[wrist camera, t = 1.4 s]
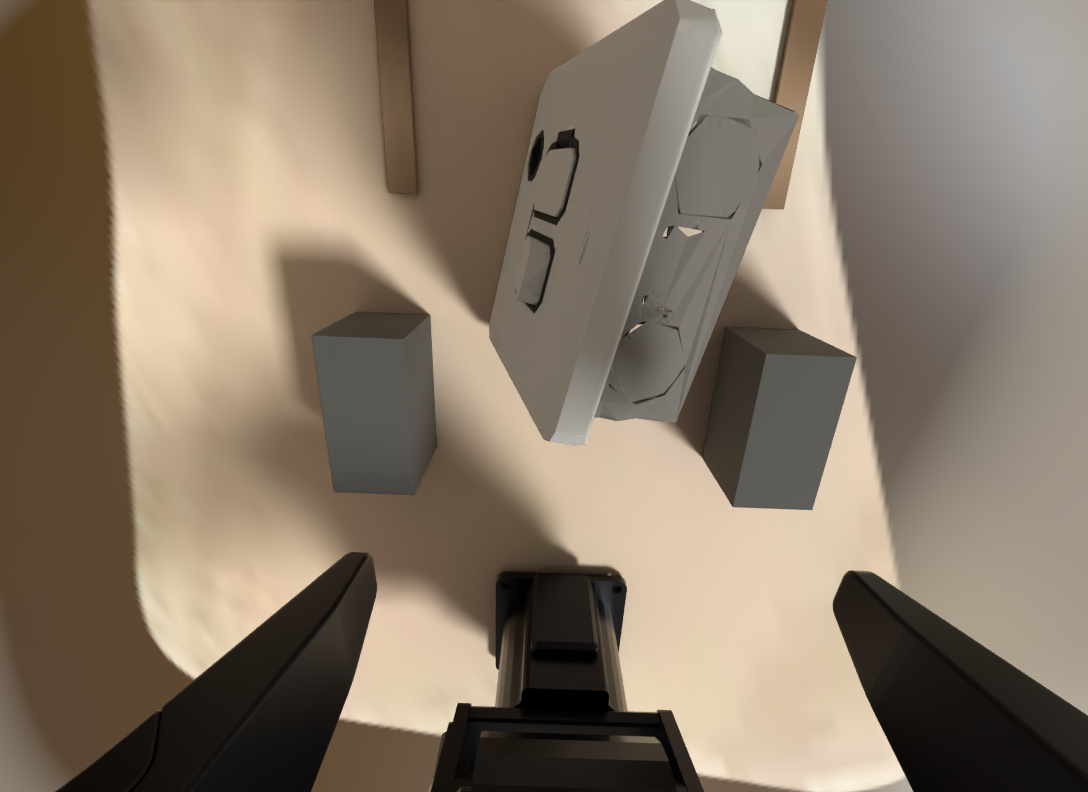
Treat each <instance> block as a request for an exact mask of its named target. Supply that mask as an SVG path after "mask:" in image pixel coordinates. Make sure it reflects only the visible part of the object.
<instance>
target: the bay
mask: <svg viewBox="0 0 1088 792" xmlns="http://www.w3.org/2000/svg"><path fill="white" fill-rule="evenodd" d="M826 5H827V0H793V6H792V11H791V16H790V22H789V27H788V32H787V38H786V43H785V48H784V53H783V59H782V64H781V69H780V75H779V80H778V85H777V91H776V96H775V101H774V103H776V104H779V105H781V106H784V107H786V108H789V109H791V110H793V111H796V112H794V113H796V114H798V115H799V117H798V120H797V122H796V125H795V127H794V130H793V132H792V135H791V137H790V140H789V142H788V145H787V147H786V150H785V152H784V155H783V157H782V160H781V162H780V165H779V167H778V170H777V172H776V175H775V177H774V180H773V182H772V185H771V187H770V190H769V192H768V195H767V197H766V200H765V202H764V205H763V207H762V209H784V205H785V201H786V196H787V191H788V186H789V182H790V177H791V172H792V167H793V163H794V158H795V153H796V148H797V143H798V139H799V134H800V129H801V124H802V120H803V115H804V110H805V105H806V100H807V96H808V91H809V86H810V81H811V77H812V72H813V67H814V62H815V57H816V53H817V48H818V43H819V38H820V34H821V29H822V24H823V19H824V15H825V10H826ZM374 6H375V20H376V33H377V46H378V60H379V73H380V87H381V100H382V113H383V127H384V140H385V154H386V167H387V180H388V193H408V194H417V180H416V162H415V143H414V125H413V106H412V88H411V70H410V51H409V33H408V14H407V0H374Z"/></svg>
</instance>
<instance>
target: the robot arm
mask: <svg viewBox="0 0 1088 792" xmlns="http://www.w3.org/2000/svg"><path fill="white" fill-rule="evenodd" d="M503 582H509V583H508V584H506V583H503ZM614 586H619V587H616V588H614ZM626 592H627V588H626V582H625V580H624V579H623V578H622V577H620V576H608V575H580V574H553V573H525V572H502V573H500V574H499V575H498V576H497V581H496V668H497V669H498V670H499V674H498V684H497V693H496V703H495V707H483V706H471V703H458V704H457V708H456V712H455V716H454V720H453V722H449V725H448V728H447V731H446V732H445V733H443V734H442V738H441V743H440V748H439V753H438V758H437V763H436V768H435V772H434V776H433V779H432V782H431V786H430V788H429V790H428V792H704V791H703V788H702V786H701V783H700V781H699V778H698V776H697V773H696V771H695V768H694V766H693V763H692V761H691V758H690V756H689V753H688V751H687V748H686V746H685V743H684V741H683V738H682V736H681V733H680V731H679V728H678V726H677V723H676V721H675V718H674V716H673V713H672V711H671V710H657V712H629V711H627V705H626V698H625V692H624V686H623V680H622V673H621V667H620V661H619V654H618V652H619V645H620V637H621V630H622V622H623V615H624V607H625V600H626ZM376 593H377V582H376V576H375V569H374V563H373V558H372V556H371V554H369V553H358V552H350V553H348V554H346V555H345V556H343V557H342V558H341V559H340V560H338V561H337V562H336V563H335V564H334V565H332V566H331V567H330V568H329V569H328V570H326V571H325V572H324V573H323V574H322V575H320V576H319V577H318V578H317V579H316V580H314V581H313V582H312V583H311V584H310V585H308V586H307V587H306V588H305V589H304V590H302V591H301V592H300V593H299V594H297V595H296V596H295V597H294V598H293V599H291V600H290V601H289V602H288V603H287V604H285V605H284V606H283V607H282V608H281V609H279V610H278V611H277V612H276V613H275V614H273V615H272V616H271V617H270V618H269V619H267V620H266V621H265V622H264V623H262V624H261V625H260V626H259V627H258V628H256V629H255V630H254V631H253V632H252V633H250V634H249V635H248V636H247V637H246V638H244V639H243V640H242V641H241V642H240V643H238V644H237V645H236V646H235V647H234V648H232V649H231V650H230V651H229V652H227V653H226V654H225V655H224V656H223V657H221V658H220V659H219V660H218V661H217V662H215V663H214V664H213V665H212V666H211V667H209V668H208V669H207V670H206V671H205V672H203V673H202V674H201V675H200V676H199V677H197V678H196V679H195V680H194V681H192V682H191V683H190V684H189V685H188V686H186V687H185V688H184V689H183V690H182V691H180V692H179V693H178V694H177V695H176V696H174V697H173V698H172V699H171V700H170V701H168V702H167V703H166V704H165V705H164V706H163V707H162V711H156V712H155V713H154V714H152V715H151V716H150V717H149V718H148V719H146V720H145V721H144V722H143V723H142V724H140V725H139V726H138V727H137V728H135V730H133V731H132V732H131V733H129V734H128V735H127V736H126V737H124V738H123V739H122V740H121V741H119V742H118V743H117V744H116V745H114V746H113V747H112V748H111V749H109V750H108V751H107V752H106V753H104V755H102V756H101V757H100V758H98V759H97V760H96V761H95V762H93V763H92V764H91V765H90V766H88V767H87V768H86V769H84V770H83V771H82V772H80V773H79V774H78V775H76V776H75V777H74V778H73V779H71V780H70V781H68V782H67V783H66V784H65V785H63V786H62V787H61V788H59V789H58V790H57V791H55V792H311V790H312V787H313V785H314V782H315V780H316V777H317V774H318V772H319V769H320V767H321V764H322V761H323V759H324V756H325V753H326V751H327V748H328V745H329V743H330V740H331V738H332V735H333V732H334V730H335V727H336V725H337V722H338V719H339V717H340V714H341V712H342V709H343V706H344V704H345V701H346V698H347V696H348V693H349V690H350V687H351V685H352V682H353V679H354V675H355V672H356V669H357V665H358V661H359V658H360V654H361V650H362V646H363V643H364V639H365V635H366V631H367V628H368V624H369V620H370V617H371V613H372V609H373V605H374V602H375V598H376ZM833 611H834V615H835V618H836V620H837V623H838V625H839V628H840V630H841V633H842V636H843V638H844V641H845V643H846V646H847V648H848V651H849V654H850V656H851V659H852V661H853V664H854V666H855V669H856V672H857V674H858V677H859V679H860V682H861V684H862V687H863V689H864V691H865V694H866V696H867V698H868V701H869V703H870V705H871V707H872V709H873V711H874V713H875V715H876V717H877V719H878V721H879V723H880V725H881V727H882V729H883V731H884V733H885V735H886V737H887V739H888V741H889V743H890V746H891V748H892V750H893V752H894V754H895V756H896V758H897V760H898V762H899V764H900V766H901V768H902V770H903V772H904V774H905V776H906V778H907V780H908V782H909V784H910V786H911V788H912V790H913V792H1088V716H1087V715H1086V714H1085V713H1083V712H1081V711H1080V710H1079V709H1077V708H1075V707H1074V706H1073V705H1071V704H1070V703H1068V702H1067V701H1065V700H1064V699H1062V698H1061V697H1059V696H1058V695H1056V694H1055V693H1053V692H1052V691H1050V690H1049V689H1047V688H1046V687H1044V686H1042V685H1041V684H1039V683H1038V682H1036V681H1035V680H1033V679H1032V678H1031V677H1029V676H1028V675H1026V674H1025V673H1023V672H1022V671H1020V670H1019V669H1017V668H1016V667H1014V666H1013V665H1011V664H1009V663H1008V662H1007V661H1005V660H1004V659H1002V658H1001V657H999V656H998V655H996V654H995V653H993V652H992V651H990V650H989V649H987V648H985V647H984V646H983V645H981V644H980V643H978V642H977V641H975V640H974V639H972V638H971V637H969V636H967V635H966V634H965V633H963V632H962V631H960V630H958V629H957V628H956V627H954V626H952V625H951V624H950V623H948V622H946V621H945V620H943V619H942V618H941V617H939V616H938V615H936V614H934V613H933V612H931V611H930V610H928V609H927V608H926V607H924V606H922V605H921V604H920V603H918V602H917V601H915V600H914V599H912V598H910V597H909V596H908V595H906V594H905V593H903V592H902V591H900V590H899V589H897V588H895V587H894V586H892V585H891V584H889V583H888V582H886V581H885V580H883V579H882V578H880V577H879V576H877V575H876V574H874V573H872V572H869V571H848V572H847V573H845V575H844V576H843V579H842V581H841V583H840V586H839V588H838V590H837V593H836V595H835V597H834V600H833Z"/></svg>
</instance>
